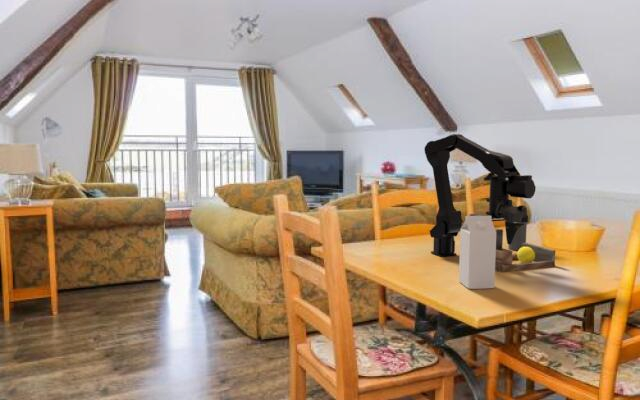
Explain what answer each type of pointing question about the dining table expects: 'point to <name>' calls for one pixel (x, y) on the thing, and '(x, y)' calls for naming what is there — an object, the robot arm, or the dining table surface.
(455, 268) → the dining table surface
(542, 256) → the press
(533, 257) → the lemon
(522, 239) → the bottle
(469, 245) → the milk carton
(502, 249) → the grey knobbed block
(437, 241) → the robot arm
